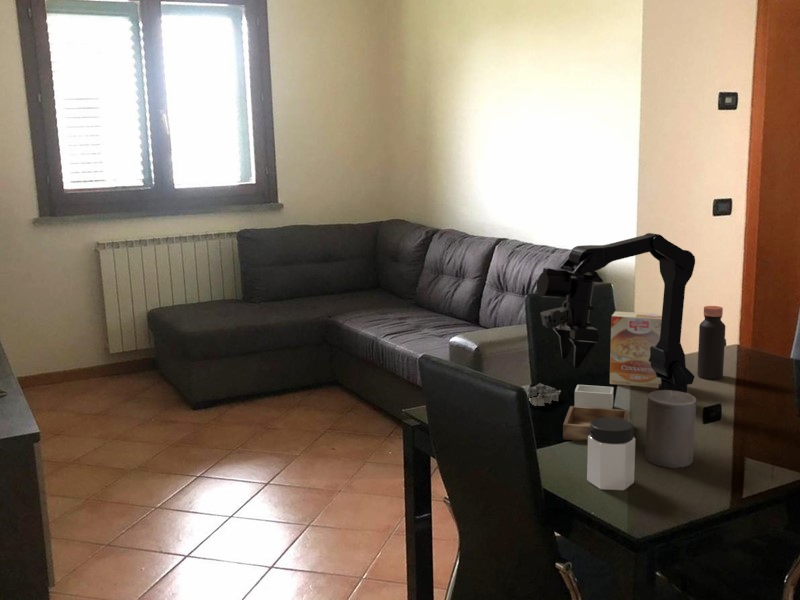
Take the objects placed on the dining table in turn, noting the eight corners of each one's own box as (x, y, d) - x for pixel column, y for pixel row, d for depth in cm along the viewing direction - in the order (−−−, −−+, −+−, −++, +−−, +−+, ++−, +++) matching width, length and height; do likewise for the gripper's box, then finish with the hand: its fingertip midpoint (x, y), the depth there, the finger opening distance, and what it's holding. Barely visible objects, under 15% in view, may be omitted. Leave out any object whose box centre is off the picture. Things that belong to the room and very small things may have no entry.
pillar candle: (635, 458, 168) (637, 390, 165) (662, 446, 173) (665, 381, 170) (675, 472, 160) (679, 401, 157) (703, 460, 166) (707, 391, 163)
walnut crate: (628, 424, 188) (628, 410, 187) (625, 444, 175) (625, 429, 175) (569, 419, 192) (570, 405, 192) (562, 439, 179) (563, 424, 179)
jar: (601, 469, 162) (602, 413, 160) (639, 479, 157) (641, 421, 155) (580, 484, 155) (581, 426, 153) (619, 495, 150) (621, 434, 148)
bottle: (726, 379, 221) (730, 309, 217) (702, 380, 221) (705, 310, 218) (717, 373, 228) (720, 304, 224) (693, 373, 228) (696, 305, 224)
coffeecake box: (609, 384, 220) (610, 315, 216) (612, 377, 226) (614, 310, 223) (665, 389, 214) (668, 318, 211) (668, 382, 221) (670, 313, 217)
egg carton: (538, 411, 200) (538, 395, 199) (515, 404, 206) (514, 389, 205) (563, 401, 207) (563, 385, 207) (540, 395, 213) (540, 380, 212)
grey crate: (613, 405, 202) (613, 387, 201) (611, 413, 196) (611, 394, 195) (576, 403, 204) (577, 384, 203) (574, 410, 199) (574, 391, 198)
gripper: (535, 290, 197) (527, 351, 200) (558, 302, 179) (549, 369, 181) (578, 294, 199) (569, 355, 201) (605, 306, 180) (596, 373, 183)
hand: (569, 362), depth 191 cm, fingers open, 9 cm apart
